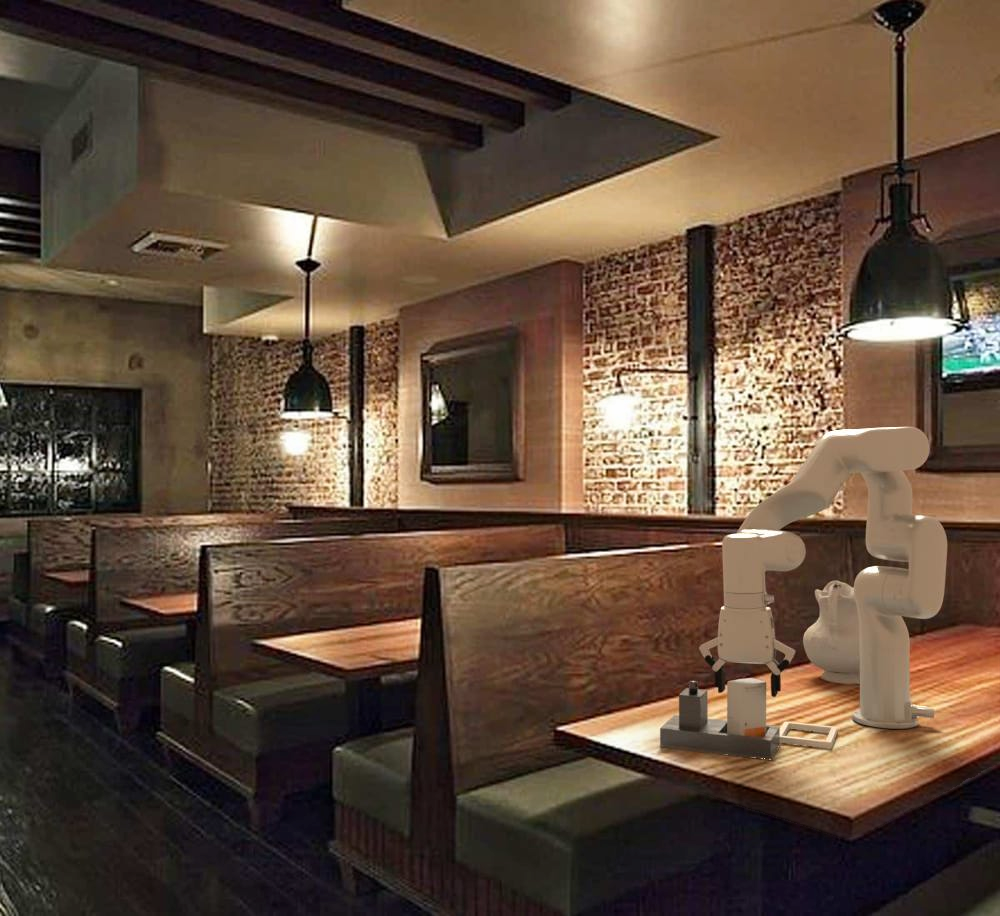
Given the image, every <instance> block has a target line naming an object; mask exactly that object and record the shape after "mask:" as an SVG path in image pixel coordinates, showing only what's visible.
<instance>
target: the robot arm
mask: <svg viewBox="0 0 1000 916" xmlns="http://www.w3.org/2000/svg"><path fill="white" fill-rule="evenodd" d="M930 448H931V446H930V442H929V439H928V437H927V435H926V433H924V432H923V431H922V430H921V429H919V428H917V427H914V426H897V427H895V426H894V427H893V426H892V427H873V428H872V427H871V428H870V427H869V428H859V429H838V430H832V431H829V432H827V433H825V434H824V435H822V436H821V437H820V438H819V440H818V442H817V443H816V444H815V445H814V447H813V449H812V450H811V452H810V453H809V454H808V456H807V458H806V459H805V460H804V462H803V463H802V465H801V467H800V468H799V469H798V471H797V472H796V474H795V475H794V477H793V479H792V480H791V481H789V483H788V484H786V485H785V486H783V487H781V488H780V489H778V490H776V491H775V492H773V493H772V494H771V495H770V496H768V497H767V498H765V499H763V500H762V501H761V502H760V503H758V504H757V505H756V506H755V507H754V508H753V509H752V510H751V511H750V512H749V513H748V515H747V517H746V518H745V519H744V521H743V523H742V524H741V525H740V527H739V529H738V530H737V532H736V533H731V534H727V535H725V536H724V537H723V539H722V541H721V542H722V543H721V544H722V545H721V550H722V579H723V581H722V582H723V584H722V585H723V606H721V608H720V610H719V611H720V612H719V618H718V619H719V620H718V628H717V629H718V630H717V637H715V638H713V639H710V640H709V641H707V642H705V643H703V644H700V646H699V647H698V649H699V651H700V653H701V655H702V657H703V659H704V660H705V662H706V663H707V665H709V667H711V668H712V671H714V686H715V688H717V692H718V694H722V693H724V691H725V690H726V669H724V668H723V667H724V664H725V663H726V662H727V663H735V664H736V663H739V664H756V665H766V666H767V667H768V668H769V670H770V671H771V674H770V696H771V697H773V698H776V697H777V695H778V693H779V692H781V689H782V686H781V685H782V684H781V683H782V681H781V680H782V679H781V677H782V676H781V673H782V672H783V671H784V670H786V668H787V667H789V665H790V664H791V662H792V660H793V658H794V657H795V654H796V650H795V649H794V648H792V647H790V646H788V645H786V644H785V643H782V642H781V641H779V640H777V639H776V632H775V623H774V622H775V621H774V617H773V612H772V609H771V607H769V606H767V605H769V604H772V603H774V602H775V596H774V595H773V594H772V595H770V594H768V593H767V590H766V572H767V571H774V572H789V571H792V570H795V569H797V568H799V566H800V565H801V564H802V563H803V562H804V560H805V558H806V553H807V552H806V545H805V542H804V541H803V539H802V538H801V537H800V536H799V535H797V534H795V533H793V532H790V531H788V530H787V531H785V530H782V528H784V527H785V526H787V525H789V524H791V523H793V522H796V521H798V520H801V519H805V518H807V517H811V516H813V515H816V514H818V513H820V512H822V511H825V510H827V509H829V507H830V506H831V505H832V503H833V501H834V500H835V498H836V497H837V495H838V493H839V492H840V490H841V489H842V487H843V485H844V484H845V482H846V481H847V479H848V478H849V477H850V475H851V474H854V473H855V474H856V473H858V474H859V473H860V475H861V476H862V478H863V480H864V481H865V485H866V487H867V493H868V494H867V496H868V497H867V514H866V527H865V547H866V550H867V552H868V553H869V554H870V556H872V557H874V558H877V559H880V560H886V561H895V562H905V563H906V562H907V563H908V568H903V567H894V566H883V565H882V566H881V565H874V566H869V567H866V568H864V569H862V570H861V571H860V572H859V573H858V574H857V575H856V577H855V580H854V583H853V587H854V596H855V601H856V605H857V610H858V616H859V631H860V684H859V709H856V710H854V711H852V713H851V718H852V721H854V722H856V723H858V724H861V725H863V726H864V725H865V726H868V727H873V728H880V729H892V730H893V729H895V730H903V729H904V730H905V729H912V728H914V727H917V726H918V725H919V718H918V717H921V718H927V719H935V708H931V707H928V706H924V705H923V706H919V705H916V704H915V703H913V699H912V698H911V686H910V685H911V683H910V682H911V681H910V680H911V679H910V677H911V673H910V672H911V670H910V669H911V668H910V667H911V663H910V660H911V659H910V652H911V651H910V649H911V648H910V646H911V644H910V641H911V640H910V635H909V630H908V628H907V625H906V622H905V621H904V618H903V617H905V618H912V619H920V620H921V619H922V620H927V619H931V618H933V617H935V616H936V615H937V614H938V612H939V611H940V610H941V608H942V605H943V602H944V596H945V585H946V571H947V570H946V569H947V555H948V539H947V534H946V531H945V529H944V527H943V525H942V524H941V522H939V520H938V519H936V518H934V517H932V516H928V515H920V514H913V489H912V485H911V482H910V480H909V478H908V477H907V475H906V474H905V472H904V471H913V470H916V469H918V468H920V467H922V465H924V463H925V462H926V461H927V460H928V457H929V455H930V452H931V451H930ZM716 646H717V657H718V659H716V658H715V657H714V656H713V655H712V654H711V652H710V649H713V648H715V647H716ZM777 651H779V652H781V653H783V654H784V655H785V657H784V658H783V660H782V661H781V662H780V663H779V662H778V661H777V660H776V656H777Z"/></svg>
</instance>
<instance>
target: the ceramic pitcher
mask: <svg viewBox="0 0 1000 916" xmlns="http://www.w3.org/2000/svg"><path fill="white" fill-rule="evenodd" d="M814 595H815V600H816V601H817V603H818V606H819V607H818V608H819V617H818V619H817V620H816V621H815V622H814V623H813V624H812V625H810V626H809V627H808V628H807V629H806V631H805V632H804V634H803V637H802V643H803V647H804V652H805V655H806V657H807V658H808V660H809V661H810V663H811V664H813V666H814V667H816V668H819V669H821V670H823V671H824V672H823V673H821V675H820V676H819V678H820V679H822V680H824V681H826V682H828V683H833V684H842V685H850V686H852V685H860V631H859V616H858V610H857V605H856V601H855V596H854V586H853V587H852V586H851V585H849V584H848V583H846V582H841V581H839V580H835V579H834V580H832V581H830V582H828V583H827V584H826V585H825V586H824V588H823V590H820V589H815V590H814Z"/></svg>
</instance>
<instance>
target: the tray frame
mask: <svg viewBox="0 0 1000 916" xmlns="http://www.w3.org/2000/svg"><path fill="white" fill-rule="evenodd" d="M792 729H797V730H796V731H802V730H805V731H804V732H811V731H813V732H814V733H823V734H827V737H826V739H824V740H823V739H814V738H808V737H807V738H806V737H798V736H789V735H788V736H787V734H786V733H788V732H789V731H790V730H792ZM787 731H788V732H787ZM813 732H812V733H813ZM837 735H838V726H834V725H833V726H832V725H825V724H824V725H823V724H815V723H804V722H795V721H794V722H793V721H784V722H783V723H782V724H781V726H780V744H782V743H789V744H788V745H791V744H797V745H796V746H800V745H806V746H805V747H808V746H812V747H811V748H817V747H818V748H819V749H825V750H826V749H828V750H831V749H832V747H833V745H834V743H835V740H836V738H837Z"/></svg>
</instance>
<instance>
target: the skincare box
mask: <svg viewBox="0 0 1000 916" xmlns="http://www.w3.org/2000/svg"><path fill="white" fill-rule="evenodd" d="M726 685H727V686H726V687H727V688H726V689H727V697H726V698H727V699H726V701H727V703H726V705H727V706H726V710H727V711H726V721H727V734H734V735H743V736H752V737H761V738H763V737H764V736H765V734H766V725H767V681H764V680H761V679H756V678H753V677H748V678H738V679H735V680H734V679H733V680H728V681H727V684H726Z"/></svg>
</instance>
